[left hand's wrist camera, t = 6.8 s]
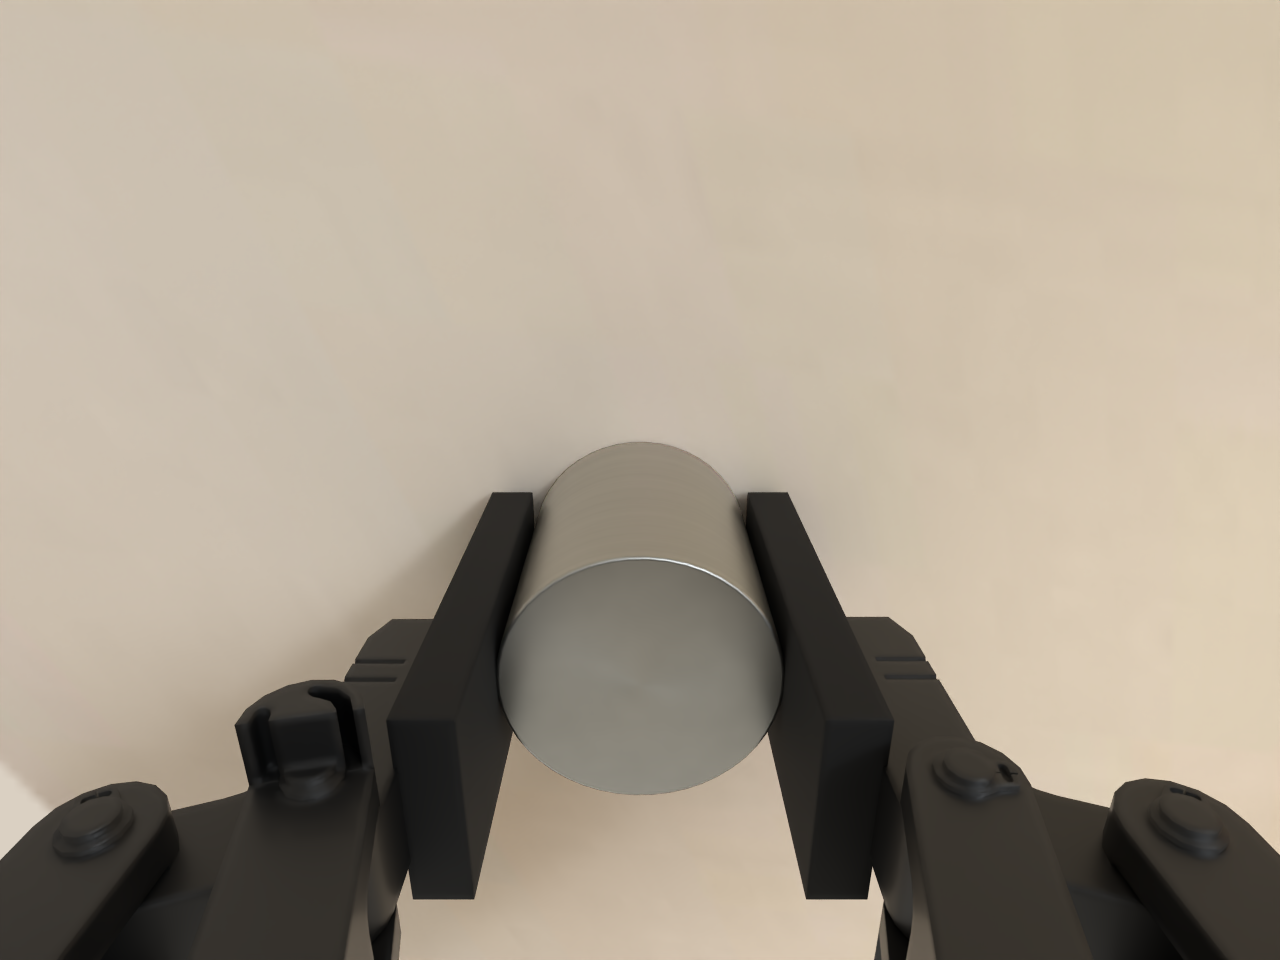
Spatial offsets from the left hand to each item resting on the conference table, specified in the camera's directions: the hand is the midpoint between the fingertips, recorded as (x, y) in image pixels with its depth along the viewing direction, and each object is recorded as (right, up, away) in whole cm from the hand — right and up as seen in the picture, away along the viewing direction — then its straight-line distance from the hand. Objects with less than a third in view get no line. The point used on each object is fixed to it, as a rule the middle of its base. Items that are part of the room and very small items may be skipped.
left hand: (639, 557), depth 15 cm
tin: (0, 0, 0) cm, 0 cm away
